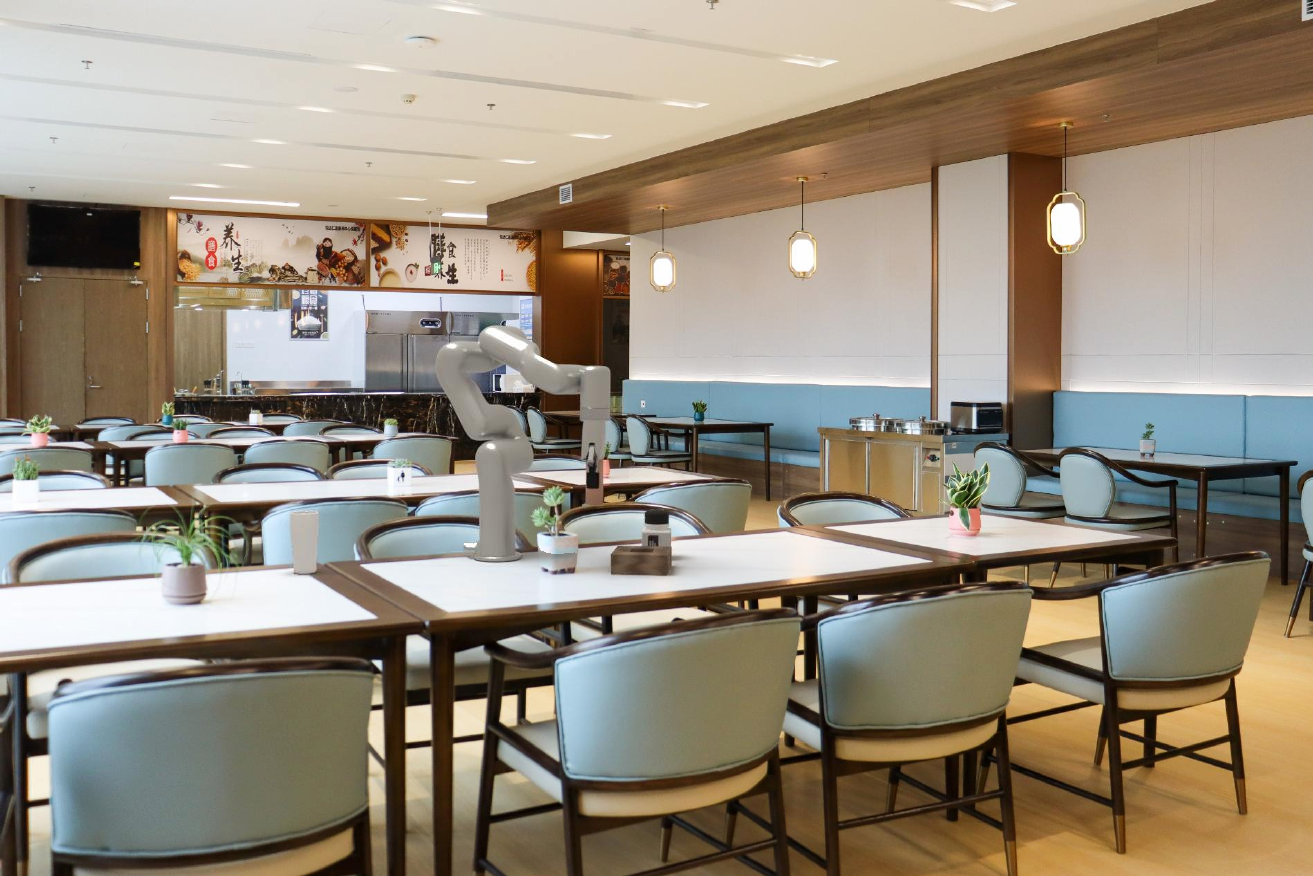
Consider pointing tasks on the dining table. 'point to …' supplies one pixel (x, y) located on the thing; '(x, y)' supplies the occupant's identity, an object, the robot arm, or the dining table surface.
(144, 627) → the dining table surface
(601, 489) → the peg
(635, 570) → the socket block
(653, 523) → the container
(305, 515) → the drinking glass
